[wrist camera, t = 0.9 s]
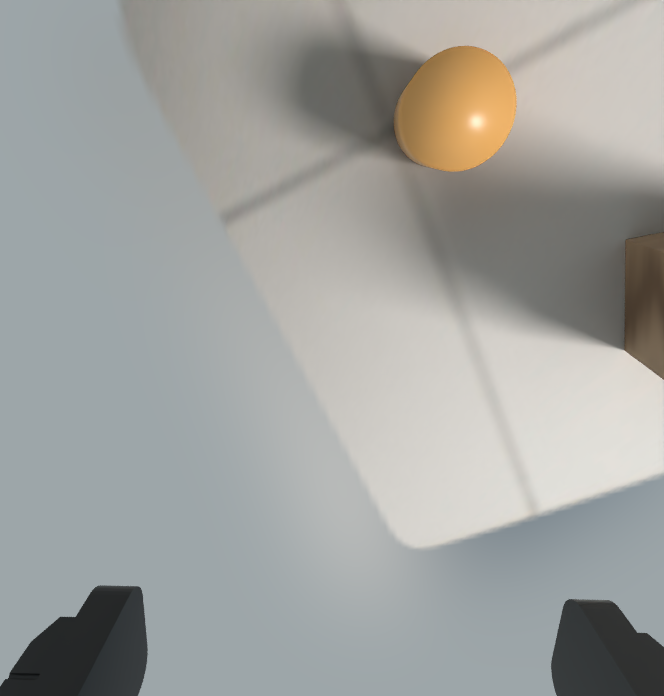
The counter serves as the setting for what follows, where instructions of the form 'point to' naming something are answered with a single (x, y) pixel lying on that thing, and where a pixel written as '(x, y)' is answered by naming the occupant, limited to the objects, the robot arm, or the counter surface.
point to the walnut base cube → (645, 300)
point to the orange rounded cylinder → (456, 110)
